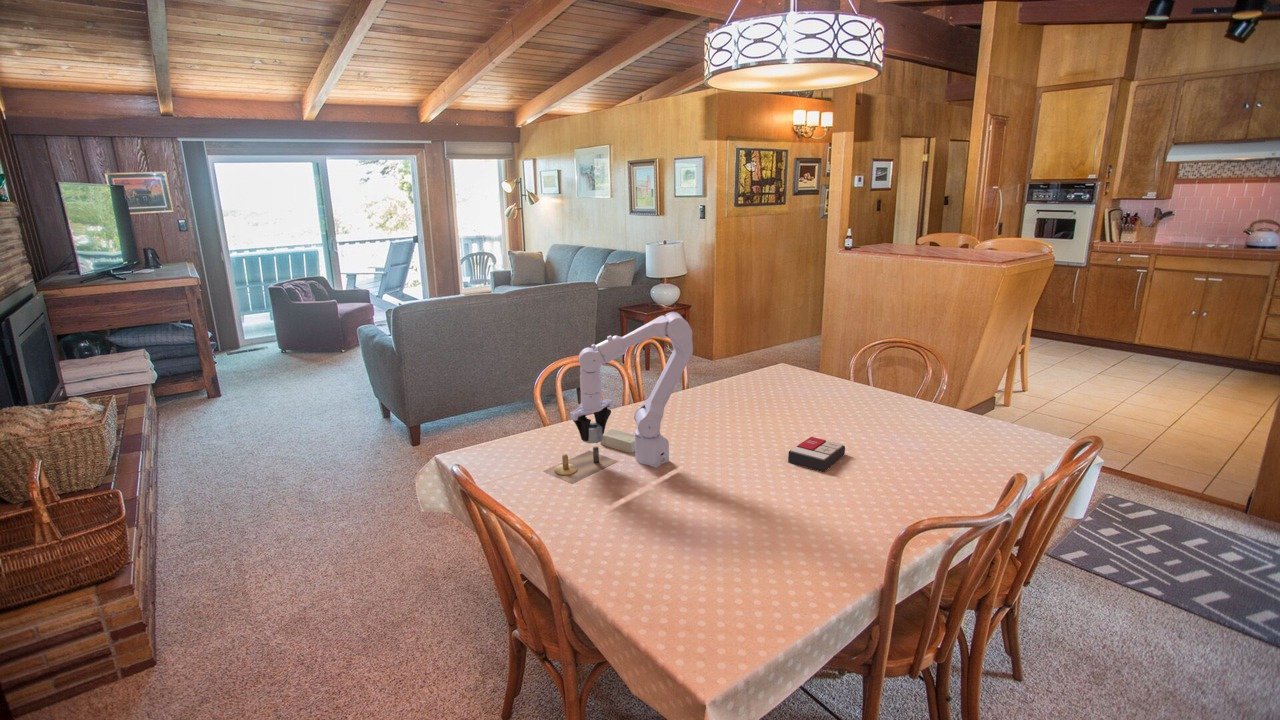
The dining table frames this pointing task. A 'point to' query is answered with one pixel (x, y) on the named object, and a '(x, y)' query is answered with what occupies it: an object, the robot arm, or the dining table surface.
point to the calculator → (816, 454)
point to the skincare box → (619, 440)
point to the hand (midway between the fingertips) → (592, 436)
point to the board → (580, 466)
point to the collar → (595, 433)
